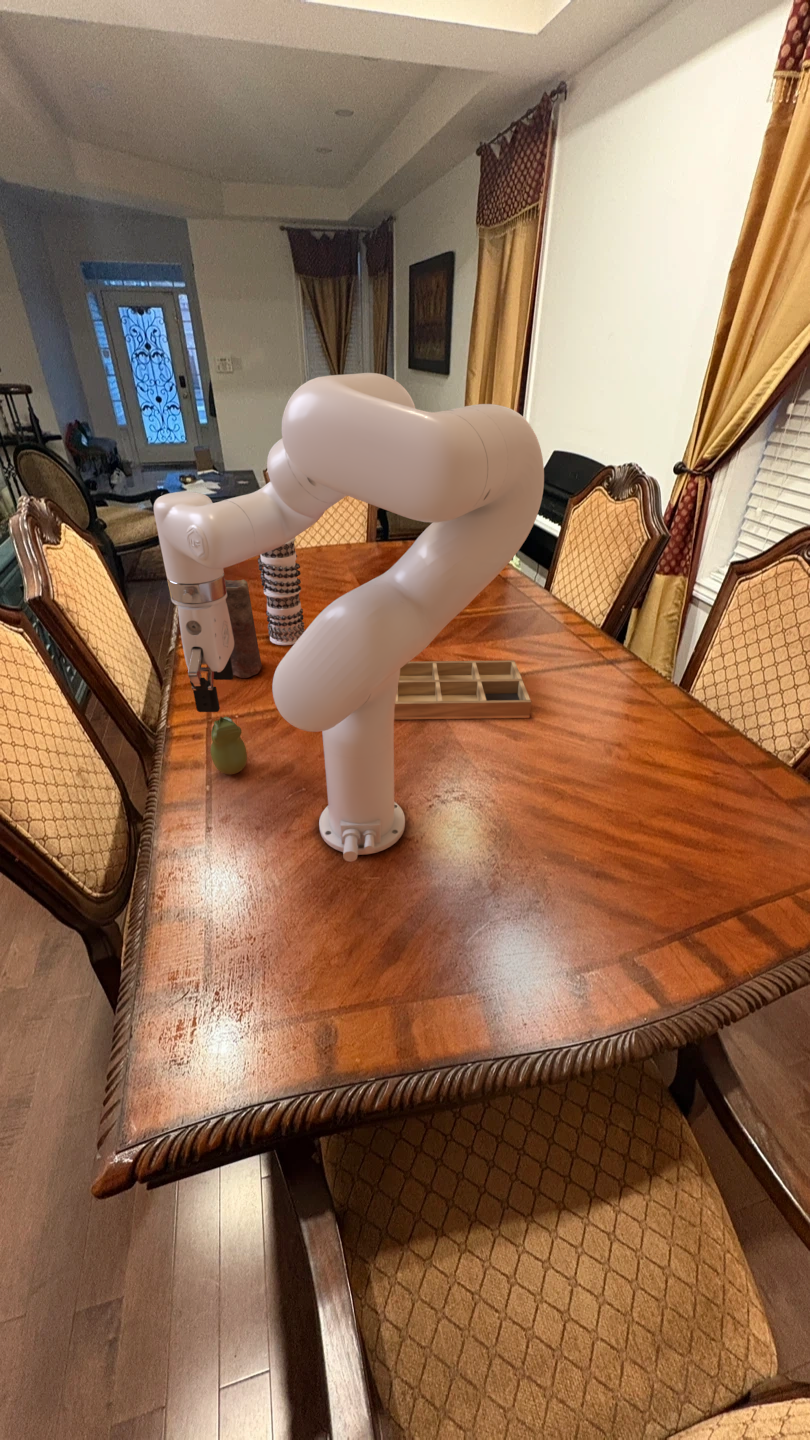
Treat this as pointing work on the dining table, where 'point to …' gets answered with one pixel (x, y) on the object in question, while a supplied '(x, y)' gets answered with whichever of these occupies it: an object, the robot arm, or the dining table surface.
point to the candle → (242, 630)
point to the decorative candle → (282, 594)
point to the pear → (227, 746)
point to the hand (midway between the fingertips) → (216, 694)
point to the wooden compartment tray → (461, 690)
